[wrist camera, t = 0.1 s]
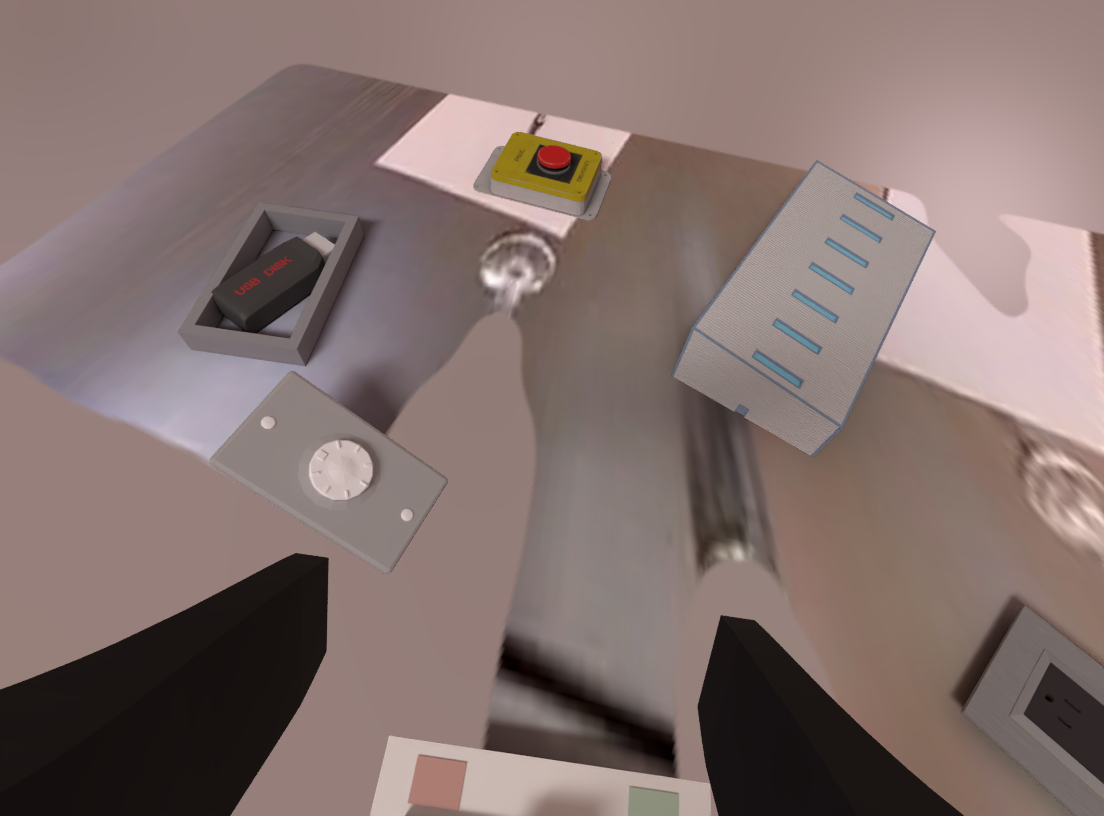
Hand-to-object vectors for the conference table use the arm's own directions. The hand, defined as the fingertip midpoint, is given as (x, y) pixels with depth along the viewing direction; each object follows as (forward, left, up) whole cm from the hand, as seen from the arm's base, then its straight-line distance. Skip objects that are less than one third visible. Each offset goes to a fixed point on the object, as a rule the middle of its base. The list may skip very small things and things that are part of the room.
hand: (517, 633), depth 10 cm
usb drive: (+34, +28, -32) cm, 55 cm away
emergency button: (+56, +5, -33) cm, 65 cm away
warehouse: (+40, -24, -33) cm, 57 cm away
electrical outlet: (+4, -39, -33) cm, 51 cm away
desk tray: (+34, +28, -32) cm, 55 cm away
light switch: (+14, +15, -32) cm, 38 cm away
